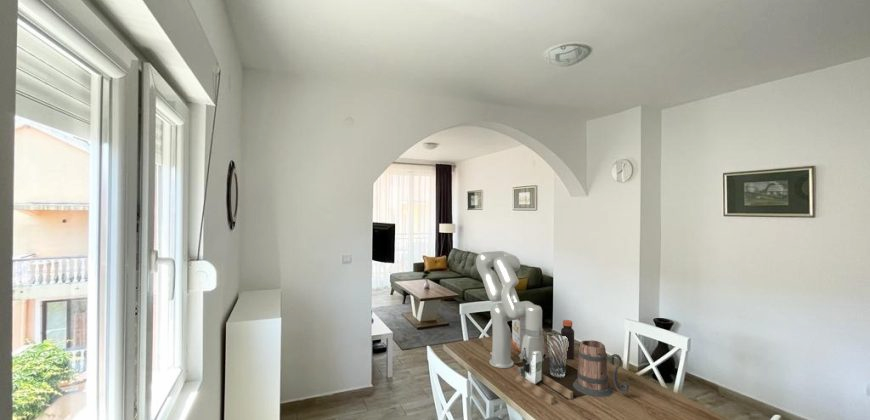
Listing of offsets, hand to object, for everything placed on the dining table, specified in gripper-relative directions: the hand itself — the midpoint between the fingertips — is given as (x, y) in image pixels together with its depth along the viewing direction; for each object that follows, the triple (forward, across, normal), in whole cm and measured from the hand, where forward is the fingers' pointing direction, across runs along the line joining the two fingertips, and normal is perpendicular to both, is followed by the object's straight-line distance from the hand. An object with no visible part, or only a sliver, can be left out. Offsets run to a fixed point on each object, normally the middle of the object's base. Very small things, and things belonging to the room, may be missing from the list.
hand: (533, 370), depth 169 cm
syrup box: (+5, 0, 0) cm, 5 cm away
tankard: (+6, -23, +18) cm, 30 cm away
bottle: (+6, -37, -16) cm, 41 cm away
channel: (+6, 0, +7) cm, 9 cm away
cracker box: (+7, -22, -38) cm, 45 cm away
